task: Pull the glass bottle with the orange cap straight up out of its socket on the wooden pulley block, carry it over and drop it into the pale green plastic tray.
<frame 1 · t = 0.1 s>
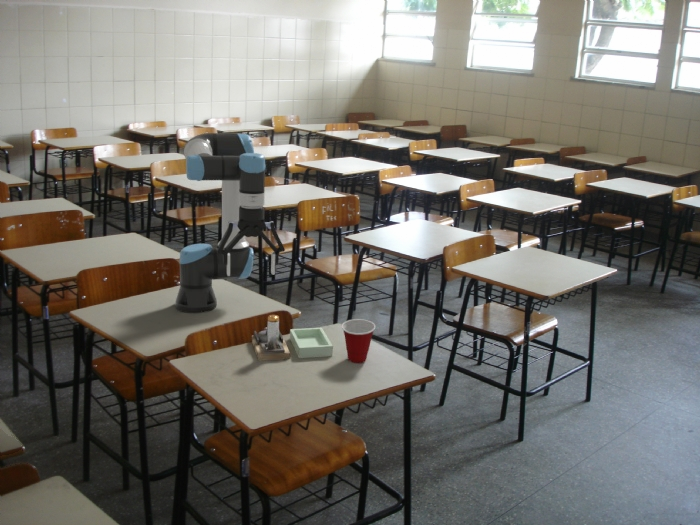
hand: (250, 274, 217), 28 cm above the table, fingers open, 13 cm apart
tray: (310, 347, 235), on the table
glass bottle: (272, 349, 227), point 2 cm above the table, touching pulley block
pulley block: (270, 349, 231), on the table
plastic cup: (356, 360, 227), on the table
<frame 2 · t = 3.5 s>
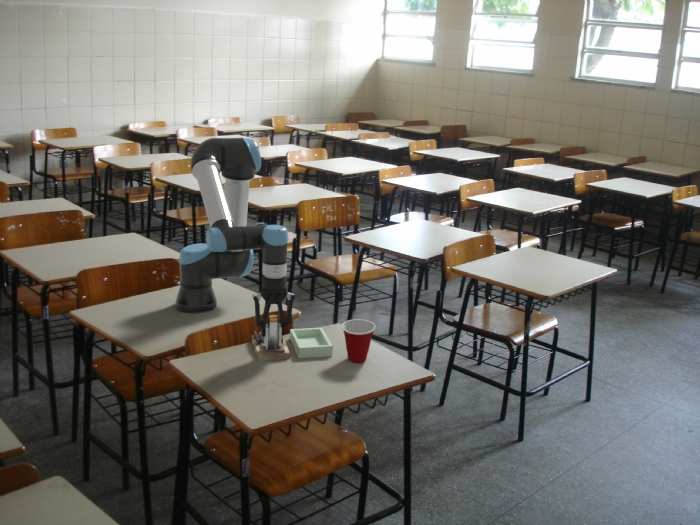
hand: (272, 344, 226), 4 cm above the table, fingers closed on glass bottle, 3 cm apart
glass bottle: (272, 349, 227), point 2 cm above the table, touching gripper, pulley block
everything else where it was.
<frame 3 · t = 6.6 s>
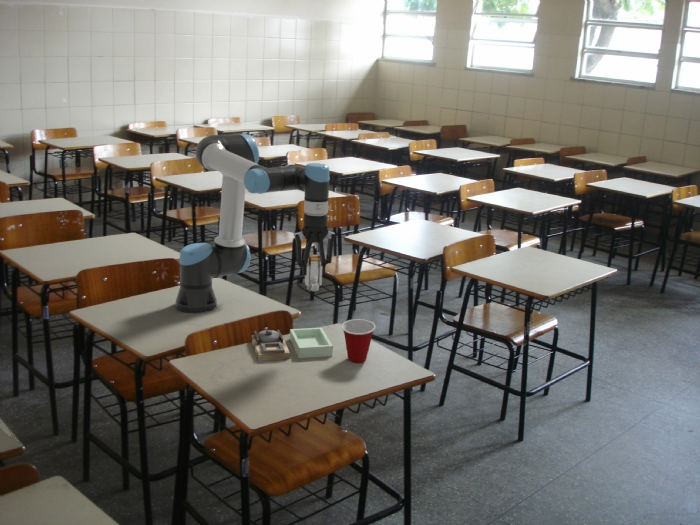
hand: (313, 284, 229), 22 cm above the table, fingers closed on glass bottle, 3 cm apart
glass bottle: (312, 289, 229), point 20 cm above the table, touching gripper
everything else where it was.
when the fingers open (6 cm above the table, at t = 9.6 s): glass bottle drops 2 cm, resting on tray.
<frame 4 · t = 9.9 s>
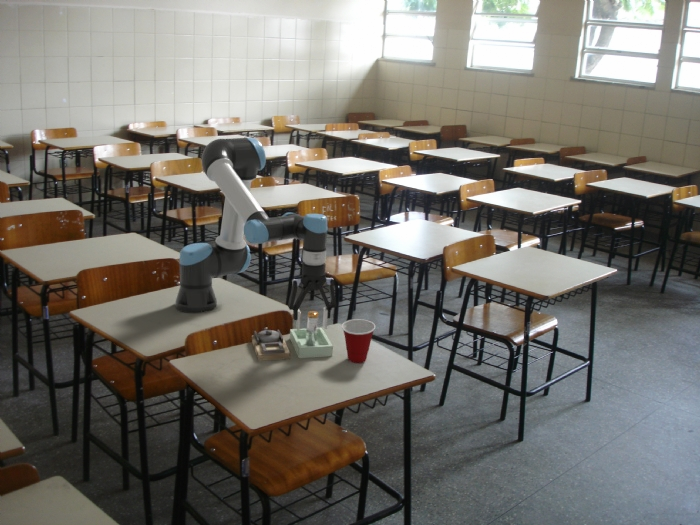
hand: (311, 328, 233), 7 cm above the table, fingers open, 8 cm apart
glass bottle: (310, 344, 235), point 1 cm above the table, touching tray
everything else where it was.
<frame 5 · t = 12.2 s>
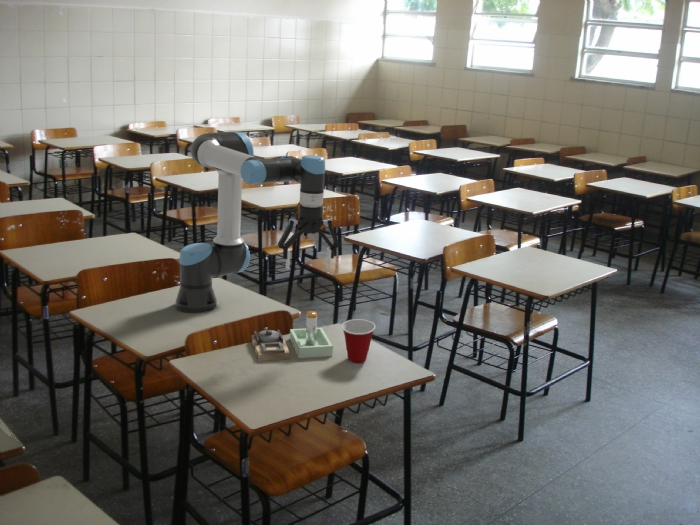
hand: (307, 268, 232), 26 cm above the table, fingers open, 13 cm apart
nothing on the table moved.
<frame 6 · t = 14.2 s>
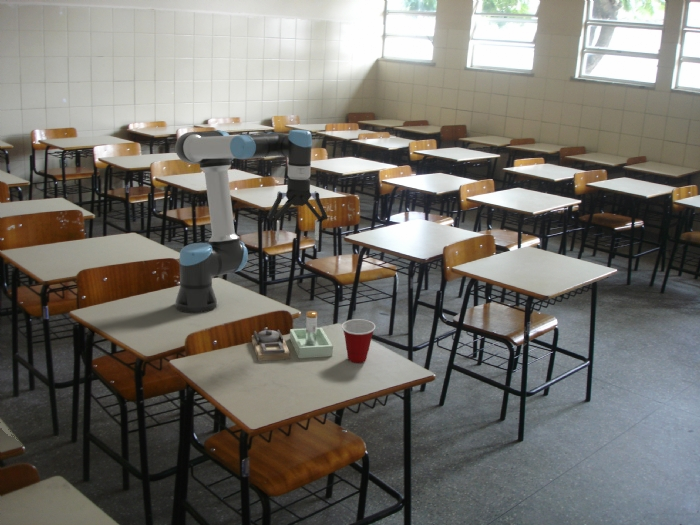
hand: (296, 239, 240), 33 cm above the table, fingers open, 13 cm apart
nothing on the table moved.
at the end: glass bottle inside the target area on the tray (0.0 cm from its centre), point 1.0 cm above the tray's base; glass bottle point 1.0 cm above the table; the gripper is holding nothing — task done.
